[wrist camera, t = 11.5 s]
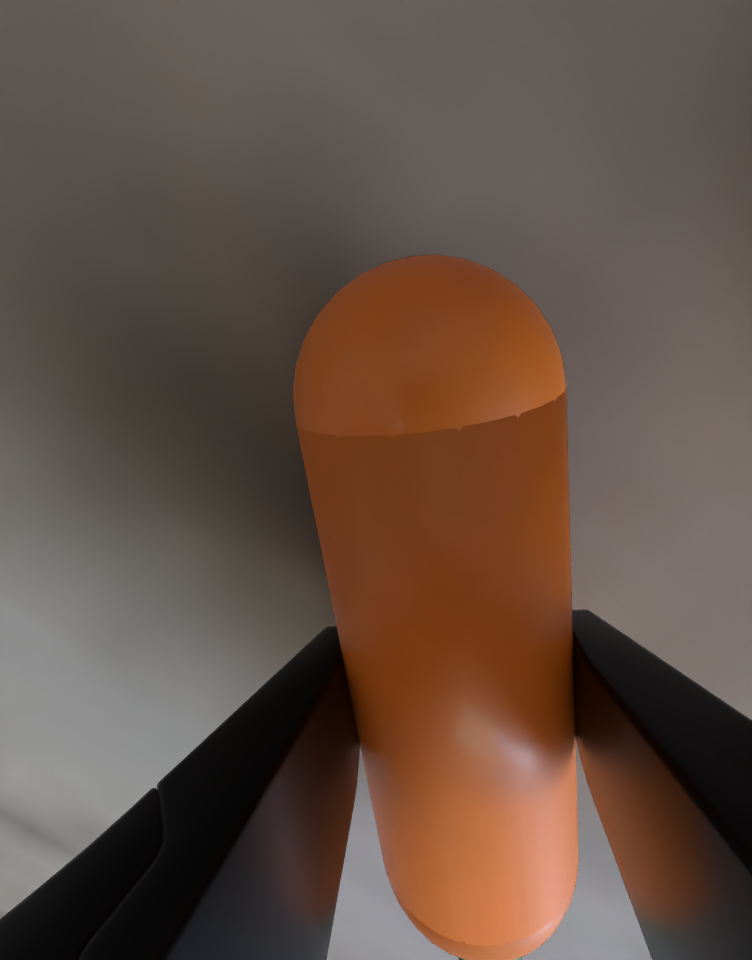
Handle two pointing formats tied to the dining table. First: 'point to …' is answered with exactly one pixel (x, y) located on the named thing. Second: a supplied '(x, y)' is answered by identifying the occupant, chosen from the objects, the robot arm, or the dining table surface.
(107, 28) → the dining table surface
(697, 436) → the dining table surface
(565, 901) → the carrot
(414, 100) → the dining table surface
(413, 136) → the dining table surface
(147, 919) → the robot arm
